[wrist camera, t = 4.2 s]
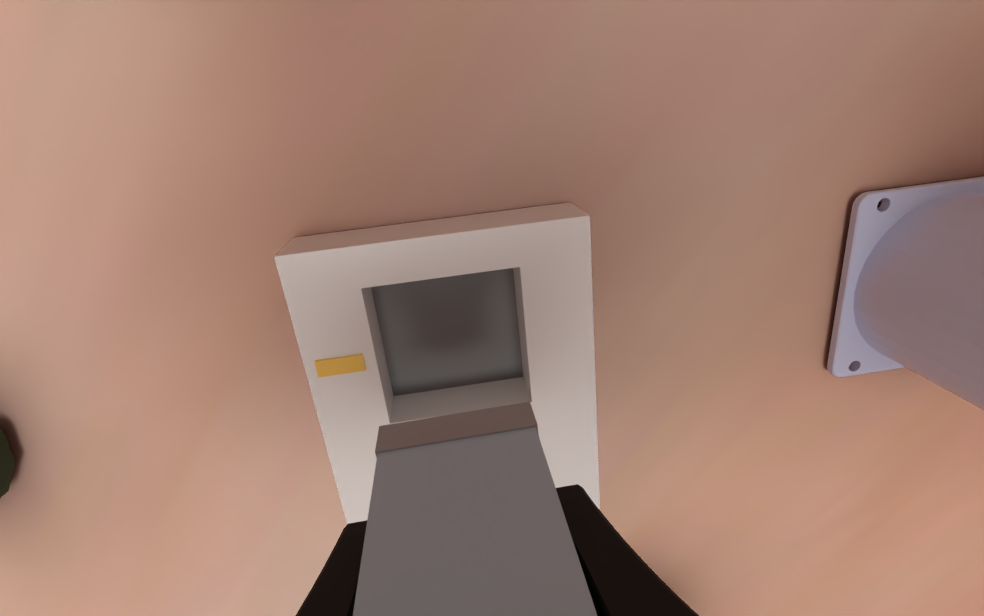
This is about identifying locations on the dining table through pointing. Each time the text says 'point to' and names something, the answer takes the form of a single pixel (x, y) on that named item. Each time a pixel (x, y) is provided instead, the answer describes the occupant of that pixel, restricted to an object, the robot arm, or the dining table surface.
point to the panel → (448, 333)
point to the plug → (467, 522)
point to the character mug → (5, 464)
